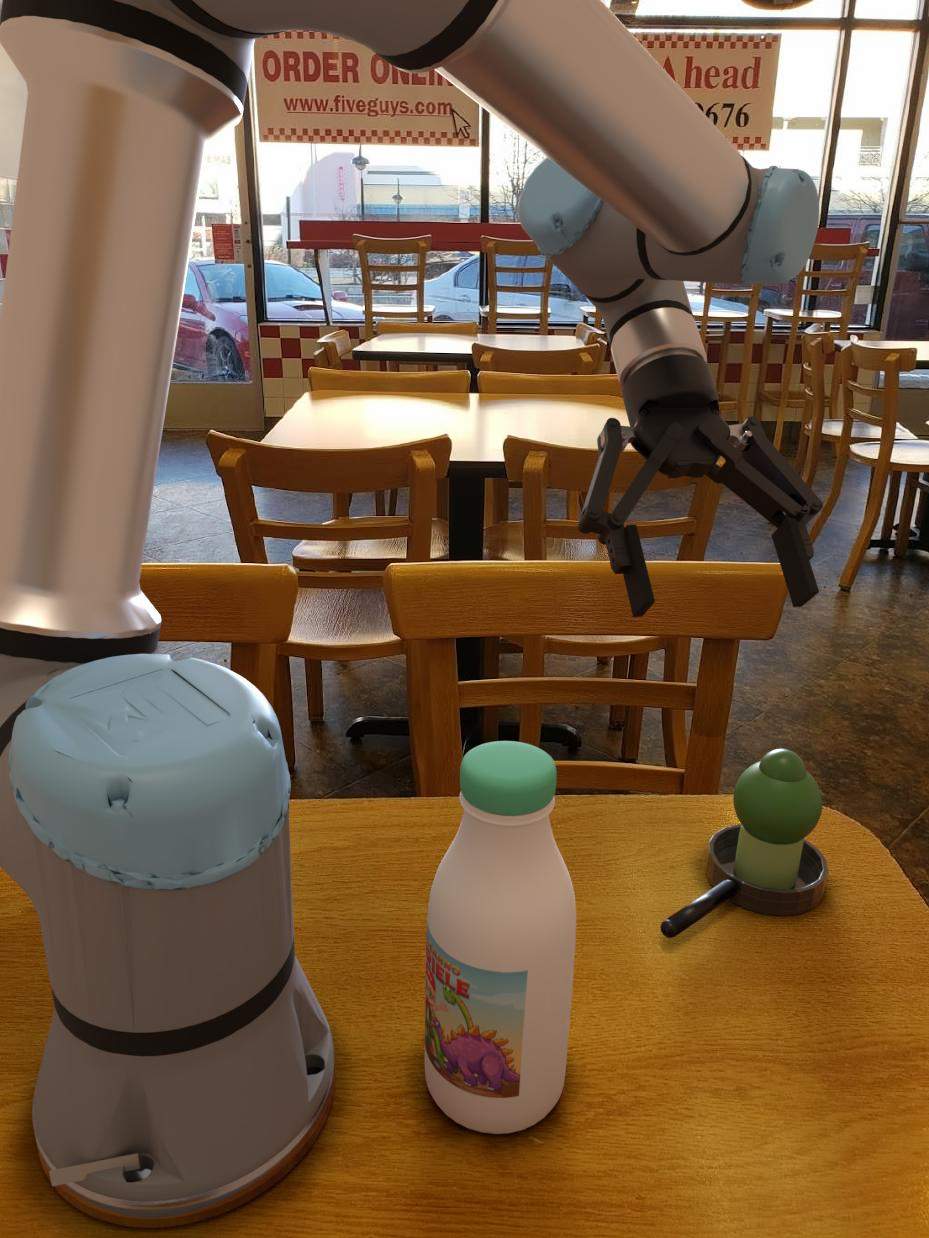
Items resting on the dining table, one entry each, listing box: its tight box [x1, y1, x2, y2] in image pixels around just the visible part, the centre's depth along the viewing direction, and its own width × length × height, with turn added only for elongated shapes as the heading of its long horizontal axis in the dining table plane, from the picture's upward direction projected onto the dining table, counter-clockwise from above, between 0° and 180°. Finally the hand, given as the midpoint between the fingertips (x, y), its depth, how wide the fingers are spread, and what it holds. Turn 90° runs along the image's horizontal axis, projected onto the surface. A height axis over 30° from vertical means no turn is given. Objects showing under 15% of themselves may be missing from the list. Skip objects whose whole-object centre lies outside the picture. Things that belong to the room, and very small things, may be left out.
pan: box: [705, 823, 829, 917], centre depth 69 cm, size 8×8×2 cm
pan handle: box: [660, 880, 737, 939], centre depth 64 cm, size 1×8×1 cm, turn 131°
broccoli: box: [732, 748, 823, 890], centre depth 67 cm, size 6×6×10 cm
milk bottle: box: [424, 740, 577, 1135], centre depth 48 cm, size 8×8×20 cm
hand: (726, 605), depth 72 cm, fingers open, 13 cm apart
